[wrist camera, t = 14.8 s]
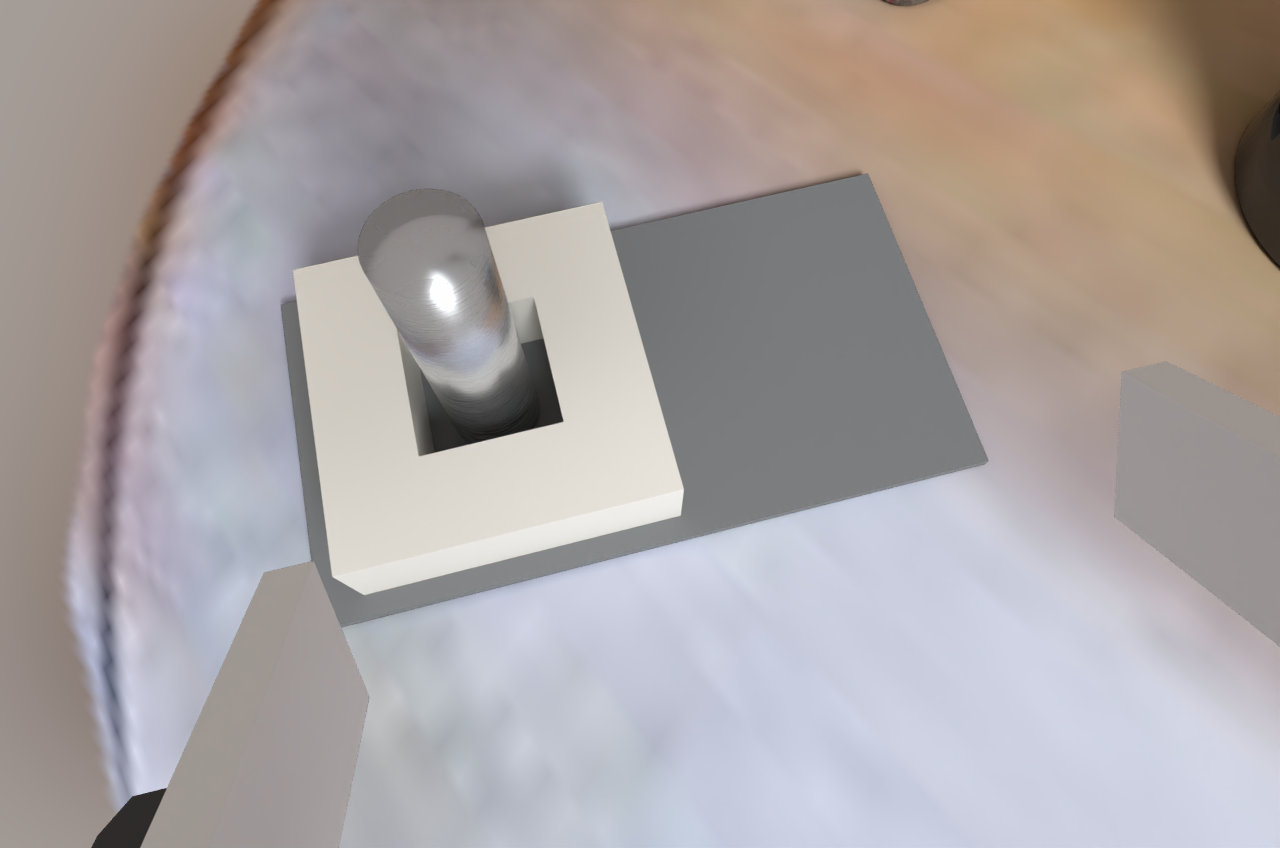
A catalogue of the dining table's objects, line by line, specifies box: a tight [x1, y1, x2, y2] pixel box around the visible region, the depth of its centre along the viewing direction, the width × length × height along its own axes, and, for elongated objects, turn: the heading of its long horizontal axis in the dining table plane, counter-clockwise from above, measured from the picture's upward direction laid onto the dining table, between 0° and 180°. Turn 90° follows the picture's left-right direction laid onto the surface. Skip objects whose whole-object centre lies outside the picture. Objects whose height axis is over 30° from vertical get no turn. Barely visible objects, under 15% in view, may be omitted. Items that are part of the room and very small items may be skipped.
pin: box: [358, 189, 540, 444], centre depth 34 cm, size 4×4×14 cm
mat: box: [281, 174, 988, 627], centre depth 41 cm, size 30×16×1 cm, turn 104°
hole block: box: [293, 202, 684, 595], centre depth 39 cm, size 14×14×4 cm
